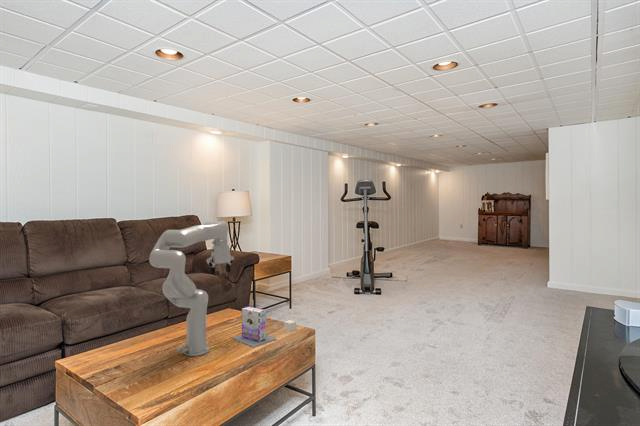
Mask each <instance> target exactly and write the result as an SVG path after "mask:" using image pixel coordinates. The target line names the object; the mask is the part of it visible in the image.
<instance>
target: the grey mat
mask: <svg viewBox="0 0 640 426" xmlns="http://www.w3.org/2000/svg"><path fill="white" fill-rule="evenodd" d="M231 339H232V340H235V341H238V342H240V343H242V344H244V345H246V346H249V347H251V348H256V347H260V346H263V345H265V344H267V343H270V342H274V341H277V340H278V339H277V337H273V336H271V335H268V334H266V339H265V340H262V341H260V342H258V341H254V340H250V339H247V338H243V337H242V334H239V335H235V336H232V337H231Z"/></svg>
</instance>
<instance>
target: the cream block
mask: <svg viewBox="0 0 640 426" xmlns="http://www.w3.org/2000/svg"><path fill="white" fill-rule="evenodd" d="M283 323H284V325H283V327H284V331H286V330H287V332H289V333H290V331H291V332H294V331H296V330H297V322H296V320H295V321H294V320H292V319H289V320H286V321H284V322H283ZM293 330H294V331H293Z"/></svg>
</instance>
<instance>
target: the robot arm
mask: <svg viewBox="0 0 640 426" xmlns="http://www.w3.org/2000/svg"><path fill="white" fill-rule="evenodd" d="M228 231H229V225H228V222H227V221H225V220H224V221H223V220H222V221H221V220H220V221H219V220H217V221H205V222H204V223H202V224H199V225H193V226H189V227H187V228H183V229H166V230H165V231H164V232H163V233H162V234H161V235H160V236H159V238H158V240H157V241H156V243H155V245H154V247H153V248H152V250H151V252H150V255H149V258H148V259H149V261H148V262H149V264H150V265H151V266H152V267H154V268H158V269H169V273H168V275H167V278H166V279H165V280H164V282H163V283H162V293H163V296H164V297H165V298H166V299H167V300H168V301H170V303H172V304H173V305H174V306H176V307H178V308H184V309H190V310H189V312H188V313H187V315H186V319H185V320H186V342H185V343H184V345H183V346H182V347H178V348H176V352H177V353H180V352H182V353H183V355H185V356H187V357H198V356H202V355H205V354H207V353H208V352H209V351H210V346H209V345H207V309H208V302H209V295H208V293H207V292H206V291H205V290H203V289H198V288H197V287H196V284H195V283H194V281H193V280H192V279H190V277H189V276H188V275H187V274H186V273H185V271H186V270H185V268H186V264H187V263H186V262H187V258H186V255H185V253H184V252H183V251H181V250H177V249H170V248H180V249H182V248H187V247H189V246H191V245H194V244H197V243H200V242H205V241H210V240H213V241H211V244H212V248H211V254H210V255H211V256H210V257H208V258H207V259H206V263H207V265H208V266H209V267H210V274H211V275H214V276H215V275H216V265H219V264H226V265H225V272H227V273H230V272H231V266H232V263H233V262H234V260H235V257H234V256H233V255H231V250H230V245H229V244H228Z"/></svg>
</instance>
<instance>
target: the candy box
mask: <svg viewBox="0 0 640 426" xmlns="http://www.w3.org/2000/svg"><path fill="white" fill-rule="evenodd" d="M241 335H242V337H243V338H247V339H250V340H254V341H258V342H260V341H262V340H265V339H266V335H267V310H266V309H263V308H257V307H252V306H245V307H244V308H241Z"/></svg>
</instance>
